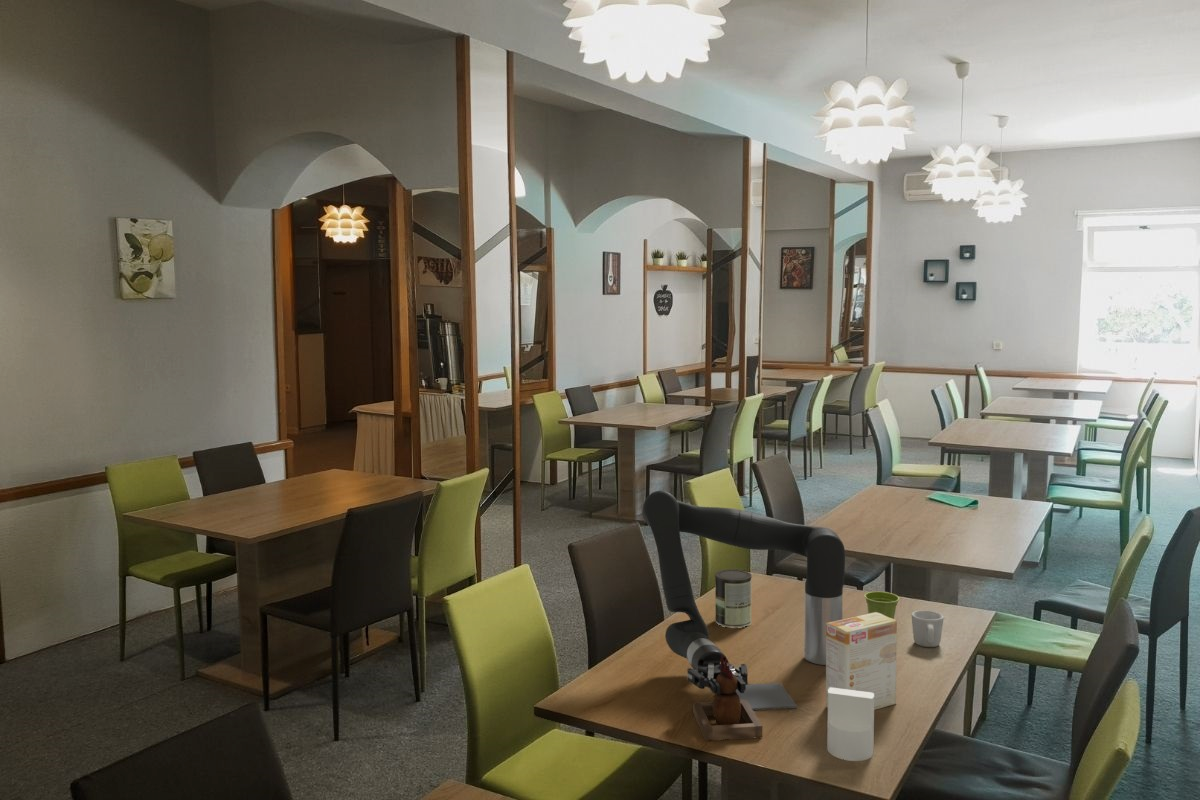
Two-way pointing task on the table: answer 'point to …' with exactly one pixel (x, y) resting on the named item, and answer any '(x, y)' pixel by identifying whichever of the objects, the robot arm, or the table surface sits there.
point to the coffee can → (733, 598)
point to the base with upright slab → (850, 724)
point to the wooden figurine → (726, 697)
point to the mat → (767, 696)
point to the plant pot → (882, 603)
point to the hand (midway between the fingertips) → (730, 689)
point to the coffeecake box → (863, 656)
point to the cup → (927, 628)
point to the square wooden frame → (727, 731)
